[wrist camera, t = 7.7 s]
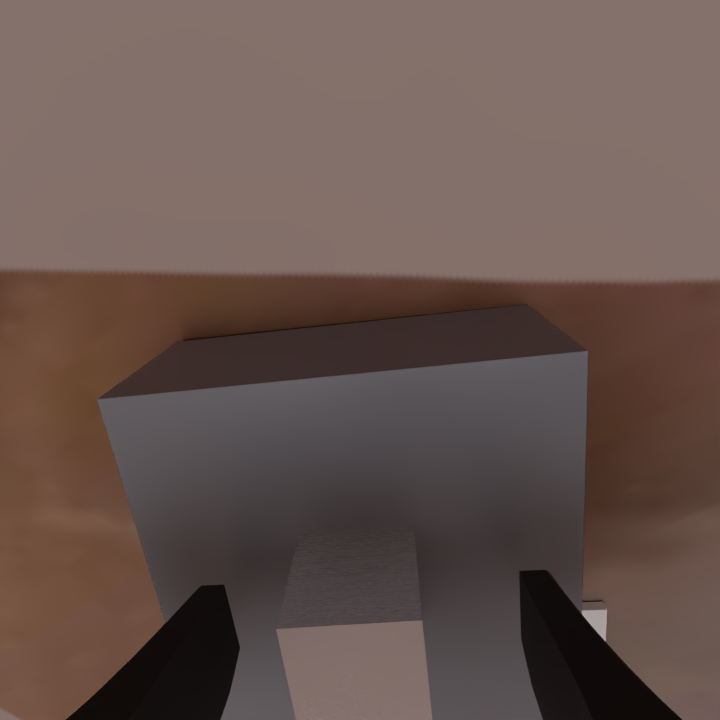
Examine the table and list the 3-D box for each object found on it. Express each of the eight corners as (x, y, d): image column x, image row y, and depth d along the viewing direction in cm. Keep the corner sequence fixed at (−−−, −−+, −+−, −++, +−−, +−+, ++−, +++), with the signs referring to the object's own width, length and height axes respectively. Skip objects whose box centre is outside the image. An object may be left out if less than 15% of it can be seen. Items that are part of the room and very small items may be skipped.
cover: (526, 304, 16) (658, 404, 8) (531, 593, 20) (626, 847, 12) (177, 341, 17) (9, 462, 9) (243, 612, 20) (160, 859, 13)
